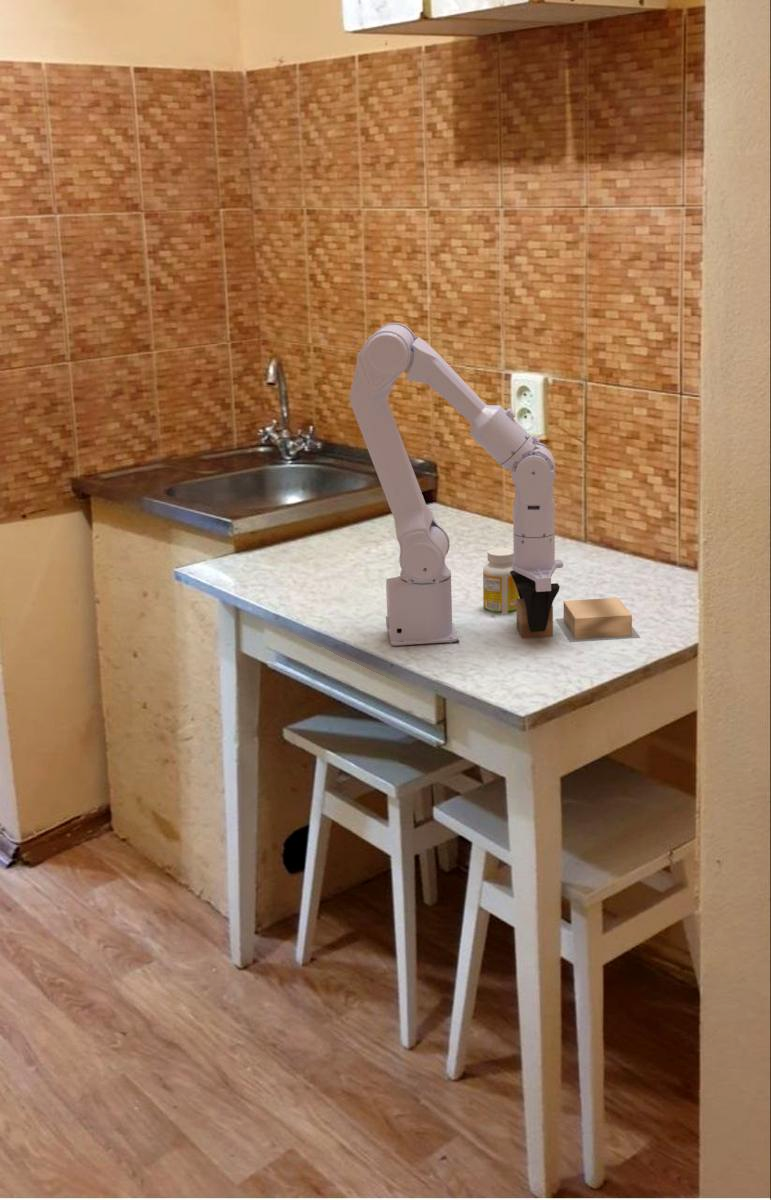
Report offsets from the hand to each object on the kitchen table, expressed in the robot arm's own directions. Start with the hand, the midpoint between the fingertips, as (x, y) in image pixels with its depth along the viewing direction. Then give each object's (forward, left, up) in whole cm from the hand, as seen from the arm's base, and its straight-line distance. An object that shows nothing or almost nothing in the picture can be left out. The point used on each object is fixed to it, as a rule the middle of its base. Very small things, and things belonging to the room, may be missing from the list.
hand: (534, 625), depth 184 cm
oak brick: (+9, 0, -1) cm, 9 cm away
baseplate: (+9, 0, -2) cm, 9 cm away
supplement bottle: (-3, +11, -2) cm, 12 cm away
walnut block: (0, 0, -2) cm, 2 cm away
